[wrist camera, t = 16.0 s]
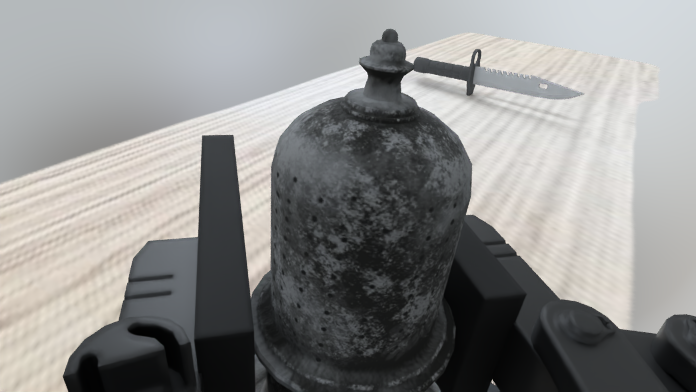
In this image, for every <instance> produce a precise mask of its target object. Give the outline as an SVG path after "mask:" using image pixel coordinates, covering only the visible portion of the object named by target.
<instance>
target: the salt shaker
mask: <svg viewBox="0 0 696 392" xmlns="http://www.w3.org/2000/svg"><path fill="white" fill-rule="evenodd" d="M405 58H406V50H405V47H404V46H403V44H402V43H400V42H398V34H397V32H396V31H395V30H393V29H387V30H386V31H384V33H383V35H382V39H381V40H377V41H376V42H374V43H373V44H372V46H371V49H370V56H366V57H363V58H360V62H359V63H360V65H361V66H362V67H363V68H364V69H365V70H366V72H367V74H368V79H367V82H366V85H365V88H360V89H355V90H352V91H350V92H349V93H348V94H347V95H346V96H345V97H341V98H337V99H332V100H329V101H326V102H324V103H322V104H320V105H318V106H316V107H314V108H312V109H310V110H308V111H306V112H304V113H302V114H301V115H299V116H298V117H297V118H296V119H295V120H294V121H293V122H292V123H291V124H290V125H289V127H288V128H287V129H286V130H285V131H284V133H283V134H282V135H281V136H280V138H279V141H278V144H277V146H276V150H275V154H274V158H273V162H272V166H271V270H270V271H269V272H268V273H267V274H265V275H264V277H263V278H262V280H261V281H260V282H259V284H258V285H257V287H256V288H255V290H254V291H253V293H252V297H251V307H252V316H253V326H254V348H255V353H256V354H255V390H256V392H441V391H440V389H439V387H438V385H437V384H436V383H435V381H436V380H437V379H438V378H439V377H440V376H441V375H442V374H443V373H444V371H445V369H446V366H447V364H448V362H449V360H450V358H451V355H452V353H453V351H454V345H455V331H456V326H455V322H454V319H453V315H452V311H451V308H450V306H449V304H448V303H447V301H446V299H445V298H444V296H443V295H444V291H445V288H446V284H447V280H448V277H449V273H450V270H451V266H452V262H453V259H454V255H455V252H456V248H457V244H458V241H459V237H460V234H461V230H462V226H463V223H464V219H465V216H466V212H467V208H468V205H469V201H470V198H471V184H472V163H471V161H470V159H469V157H468V155H467V153H466V151H465V148H464V146H463V144H462V142H461V140H460V139H459V137H458V135H457V134H456V133H455V132H453V131H452V130H451V129H450V128H449V127H448V126H447V125H445V124H444V123H443V122H442V121H441V120H440V119H439V118H438V117H436V116H435V115H434V114H432V113H431V112H429V111H427V110H425V109H423V108H421V107H418V105H417V103H416V101H415V100H414V99H413V98H412V97H410V96H408V95H406V94H403V93H401V80H402V78H403V76H404V75H406V74H407V73H409V72H410V71H412V70H413V69H414V66H413V64H412V63H410V62H408V61H406V60H405Z"/></svg>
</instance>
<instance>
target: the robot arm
mask: <svg viewBox="0 0 696 392" xmlns="http://www.w3.org/2000/svg"><path fill="white" fill-rule="evenodd" d="M128 280H129V282H128V283H127V287H126V291H125V295H124V297H125V300H123V304H122V308H121V313H120V317H119V321H117V322H114V323H112V324H109V325H106V326H104V327H103V328H101V329H100V330H98V331H97V332H95V333H94V334H92V335H91V336H89V337H88V338H86V339H85V340H84V341H83V342H82V343H81V344H80V346H79V347H78V348H77V349H76V350H75V351H74V353H73V354H72V355H71V356H70V358H69V360H68V363H67V366H66V369H65V372H64V375H63V378H64V381H65V384H66V386H67V389H68V392H256V390H255V348H254V326H253V316H252V307H251V297H250V288H249V278H248V269H247V260H246V250H245V241H244V231H243V222H242V213H241V203H240V194H239V184H238V175H237V166H236V156H235V147H234V137H233V135H209V136H202V155H201V179H200V204H199V228H198V237H195V238H181V239H168V240H155V241H148V242H147V243H146V245H145V246H144V247H143V248H142V249H141V250H140V251H139V253H138V254H137V255H136V256H135V257H134V258H133V261H132V265H131V270H130V274H129V278H128ZM443 296H444V298H445V299H446V301H447V303H448V304H449V306H450V308H451V311H452V315H453V319H454V322H455V326H456V331H455V345H454V351H453V353H452V355H451V358H450V360H449V362H448V364H447V366H446V369H445V371H444V373H443V374H442V375H441V376H440V377H439V378H438V379H437V380H436V383H437V385H438V387H439V389H440V391H441V392H487V391H488V388H489V386H490V383H491V381H492V379H493V381H494V383H495V384H496V386H497V387H498V389H499V391H500V392H696V317H695V316H691V315H687V314H686V315H673V316H672V317H670V318H668V319H667V320H666V321H665V323H664V324H663V326H662V327H661V329H660V330H659V332H658V333H657V334H653V333H646V332H637V331H630V330H623V329H619V328H618V327H617V326H616V325H615V324H614V323H613V322H612V321H611V320H610V319H609V318H608V317H606V316H605V315H603V314H602V313H600V312H598V311H597V310H595V309H594V308H592V307H589V306H587V305H584V304H581V303H579V302H576V301H569V300H562V299H561V300H560V299H559V298H558V297H557V296H556V295H555V293H554V292H553V291H552V290H551V289H550V288H549V287H548V286H547V285H546V284H545V283H544V282H543V281H542V279H541V278H540V277H539V276H538V275H537V274H536V273H535V272H534V271H533V270H532V269H531V268H530V267H529V266H528V264H527V263H526V262H525V261H524V260H523V259H522V258H521V257H520V256H517V254H516V252H515V250H514V249H513V248H512V247H511V246H510V245H509V244H506V243H505V240H504V239H503V238H502V237H501V235H500V234H499V233H498V232H497V231H496V230H495V229H494V228H493V227H492V226H491V225H489V224H487V223H486V222H484V221H482V220H481V219H479V218H478V217H476V216H474V215H466V216H465V219H464V223H463V226H462V230H461V234H460V237H459V241H458V244H457V248H456V252H455V255H454V259H453V262H452V266H451V270H450V273H449V277H448V280H447V284H446V288H445V291H444V295H443Z"/></svg>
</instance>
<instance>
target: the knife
mask: <svg viewBox="0 0 696 392" xmlns="http://www.w3.org/2000/svg"><path fill="white" fill-rule="evenodd" d="M477 52H478V59H477V61H476V63H475V64H474V59H475V55H476V53H477ZM480 59H481V50H480V49H476V50H475V51H474V52H473V55H472V59H471V64H470V67H467V66H465V67H464V66H461V65H455V64H450V63H449V64H448V63H445V62H439V61H433V60H429V59H427V58H421V57H417V58H416V59H415V61H414V64H413V66H414V71H416V72H421V73H430V74H434V75H439V76H446V77H449V78H454V79H459V80H464V81H467V95H471V94H473V90H474V87H475V84H477V85H482V86H485V87H491V88H496V89H501V90H506V91H510V92H515V93H520V94H525V95H530V96H535V97H540V98H547V99H569V98H573V97H577V96H580V95H583V94H584V93H581V92H578V91H575V90H572V89H569V88H567V87H564V86H561V85H558V84H555V83H553V82H550V81H547V80H545V79H542V78H539V77H537V76H533V75H531V79H530V78H529V75H525V78H524V77H523V74H519V75H520V77H518V74H517V73H514V76H513V75H512V72H508V73H509V75H507V73H506V71H503V74H502V73H501V71H500V70H498V73H497V72H496V70H495V69H492V70H493V72H491V69H489V68H487V70H488V72H487V71H486V69H485V68H484V67H480ZM540 83H541V84H547V85H548V87H547V89H543V88H540V87H539V85H540Z"/></svg>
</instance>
